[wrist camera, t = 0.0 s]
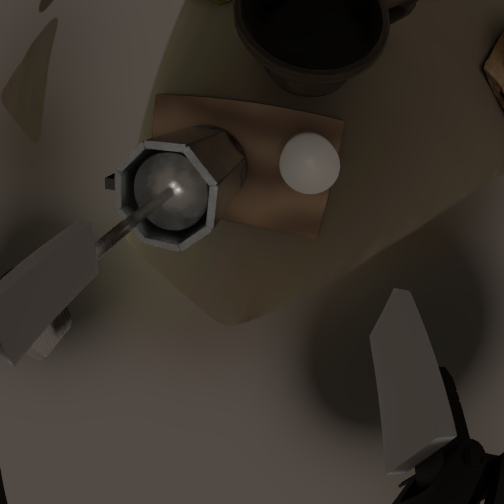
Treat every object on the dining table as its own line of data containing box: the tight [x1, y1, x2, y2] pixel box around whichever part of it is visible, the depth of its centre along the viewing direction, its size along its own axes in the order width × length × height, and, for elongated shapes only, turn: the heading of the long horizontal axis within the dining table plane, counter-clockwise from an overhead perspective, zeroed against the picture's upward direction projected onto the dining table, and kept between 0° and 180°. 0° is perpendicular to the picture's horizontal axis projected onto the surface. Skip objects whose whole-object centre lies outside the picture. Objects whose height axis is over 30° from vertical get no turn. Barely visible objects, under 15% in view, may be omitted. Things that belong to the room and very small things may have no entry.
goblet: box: [26, 151, 210, 361], centre depth 19 cm, size 8×8×20 cm
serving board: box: [152, 94, 345, 240], centre depth 37 cm, size 16×24×2 cm, turn 82°
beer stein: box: [234, 0, 418, 97], centre depth 20 cm, size 15×11×20 cm
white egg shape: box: [279, 130, 340, 194], centre depth 31 cm, size 6×6×7 cm
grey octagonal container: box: [105, 125, 248, 252], centre depth 31 cm, size 11×13×13 cm
